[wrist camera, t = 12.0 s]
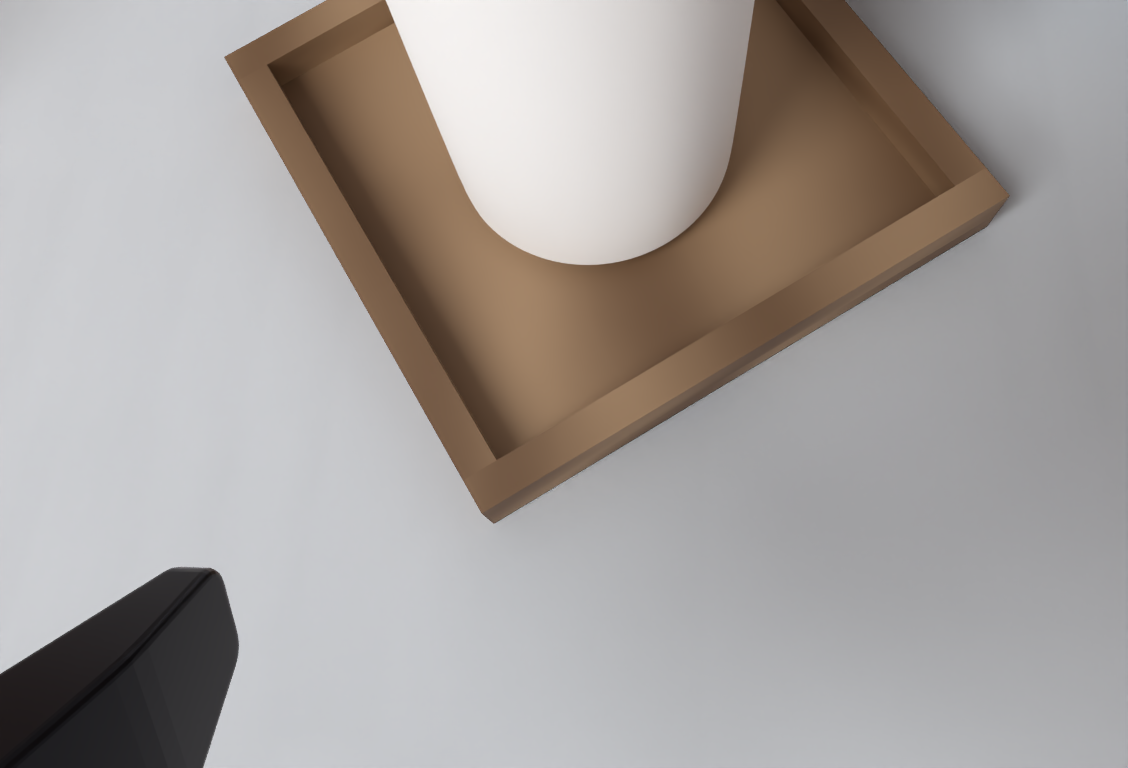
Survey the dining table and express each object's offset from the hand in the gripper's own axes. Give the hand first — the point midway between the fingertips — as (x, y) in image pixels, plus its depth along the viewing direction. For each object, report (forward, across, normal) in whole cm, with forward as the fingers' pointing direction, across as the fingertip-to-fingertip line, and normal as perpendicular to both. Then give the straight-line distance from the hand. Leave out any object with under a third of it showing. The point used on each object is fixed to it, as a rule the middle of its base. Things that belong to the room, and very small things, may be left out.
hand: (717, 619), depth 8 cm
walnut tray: (+16, +2, 0) cm, 17 cm away
